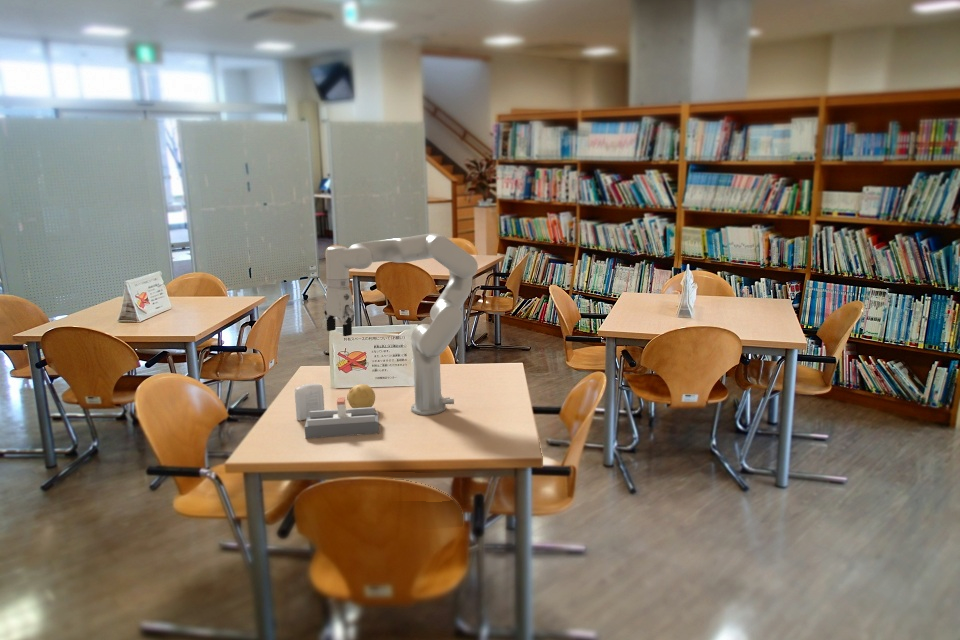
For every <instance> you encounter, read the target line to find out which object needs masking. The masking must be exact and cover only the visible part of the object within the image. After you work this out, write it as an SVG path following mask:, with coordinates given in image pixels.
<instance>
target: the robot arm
mask: <svg viewBox="0 0 960 640" xmlns="http://www.w3.org/2000/svg"><path fill="white" fill-rule="evenodd" d="M429 259H434V260H435V261H436V262H438V263H439V264H440V265H441V266H443V267H445V268H446V269H447V270H448V273H449V279H448V282H447V284H446V286H445V288H444V289H443V291H442V292H441V293H440V295H439V297H438V298H437V300H436V301H435V303H434V304H433V305H432V306H431V309H430V311H429V316H430V319H431V320H432V322H431V323H430V324H429V323H421V324H419V325H417V326H416V327H415V328H414V329H413V330H412V333H411V336H410V337H411V338H410V341H411V342H410V343H411V349H412V351H411V352H412V359H413V360H412V361H413V381H414V382H413V383H414V384H413V385H414V386H413V387H414V403H413V404H412V405H411V406H410V410H411V412H412V413H414V414H417V415H422V416H430V415H431V416H432V415H437V414H440V413H442V412H445V410H446V408H447V406H446V405H455V399H454V398H451V397H443V396H442V395H443V394H442V385H441V383H442V382H441V380H442V379H441V358H440V357H441V356H440V355H442V354H443V353H444V351H445V350H446V349H447V348H448V346H449V345H450V343H451V342H452V340H453V339H454V338H455V336H456V335H457V333H458V332H459V330H460V329H461V326H462V325H463V321H464V314H463V311H462V310H461V308H462V307H463V305H464V304H465V302H466V300H467V299H468V297H469V295H470V293H471V291H472V286H473V277H474V276H475V275H476V273H477V272H478V268H479V265H478V261H477V260H476V258H475V257H474V256H473V255H472V254H470V253H468V252H467V251H466V250H465V249H463V248H462V247H460V246H458V245H457V244H456V243H455V242H454V241H452V240H451V239H450V238H448V237H447V236H445V235H442V234H439V233H437V232H436V233H433V232H432V233H425V234H419V235H412V236H406V237H398V238H390V239H381V240H379V239H378V240H371V241H366V242H359V243H354V244H351V245H350V246H349V247H348V248H347V247H345V246H341V245H340V246H337V245H335V246H329V247H327V248H326V249H325V266H326V267H325V269H326V270H325V271H326V272H325V273H326V275H325V277H326V293H325V303H324V304H323V306H322V308H323V311H324V312H323V313H324V315H325V320H326V331H327V332H332V331H335V330H336V329H337V328H336V318H339V319H341V320H342V323H343V324H342V336H343V337H349V336H352V334H353V332H352V331H353V329H352V328H353V327H352V326H353V322H354V319H355V315H356V313H355V311H354V307H353V295H352V290H351V288H350V269H354V270H355V269H356V270H366V269H367V268H370V267H371V265H372V264H373V263H378V262H379V263H380V262H390V263H391V262H392V263H396V264H397V263H398V264H399V263H402V264H404V263H410V262H416V261H422V260H429Z"/></svg>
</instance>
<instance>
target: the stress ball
mask: <svg viewBox="0 0 960 640" xmlns="http://www.w3.org/2000/svg"><path fill="white" fill-rule="evenodd" d="M346 400H347V401H348V404H349V406H350V407H351V408H367V407H374V404H375V401H376V394H375V391H374V389H373V388H372V387H371V386H369V385H368V384H364V383H359V384H356V385H354V386H353V387H351V388H350V389H349V392H348V393H347V397H346Z"/></svg>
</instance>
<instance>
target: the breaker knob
mask: <svg viewBox="0 0 960 640" xmlns="http://www.w3.org/2000/svg"><path fill="white" fill-rule="evenodd" d="M336 405H337V406H336V409H337V410H338V414H334V415H333V418H338V417H351V416H352V414H351V413H346V409H347V408H346V397H345V396H342V397H341V396H340V397H337V400H336Z"/></svg>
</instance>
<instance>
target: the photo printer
mask: <svg viewBox="0 0 960 640" xmlns="http://www.w3.org/2000/svg"><path fill="white" fill-rule="evenodd" d="M294 397H295V398H294V401H295V413H296V414H295V415H296V420H297V421H306V420H307V416H310V411H320V410H325V396H324V386H323V384H321V383H317V382H316V383H315V382H310V383H305V384H303V385H300V386H298V387H296V388H295V390H294Z"/></svg>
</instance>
